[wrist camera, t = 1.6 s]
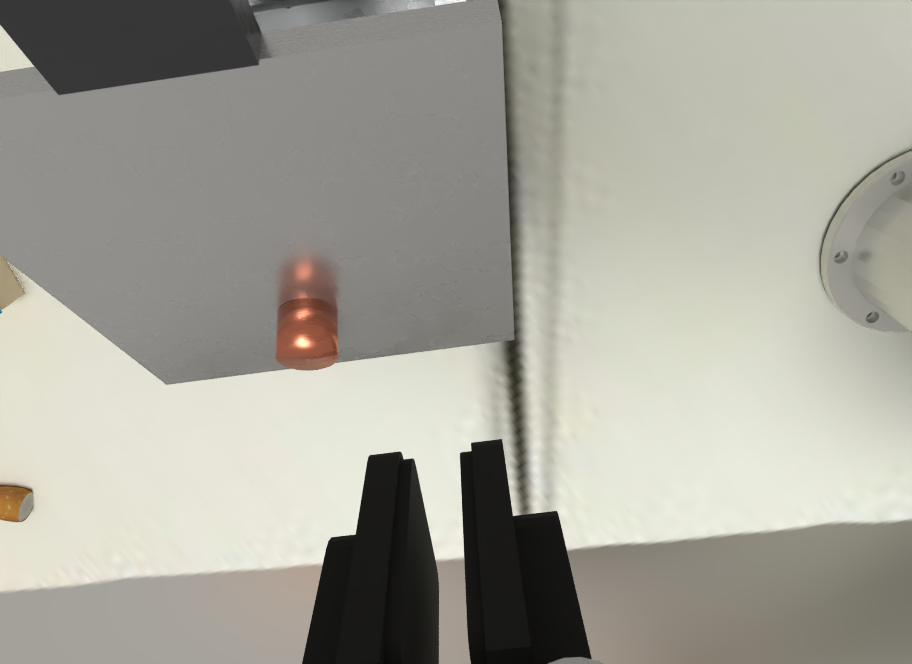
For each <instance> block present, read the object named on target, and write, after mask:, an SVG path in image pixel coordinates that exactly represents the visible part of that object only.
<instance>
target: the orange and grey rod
mask: <svg viewBox="0 0 912 664" xmlns="http://www.w3.org/2000/svg"><path fill="white" fill-rule="evenodd" d="M32 508H33V492H32V491H30V490H28V489H25V488H20V487H0V520H5V521H12V522H22V521H24V520H25V519H26V518H27V517H28V516H29V514H30V512H31V511H32Z"/></svg>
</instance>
